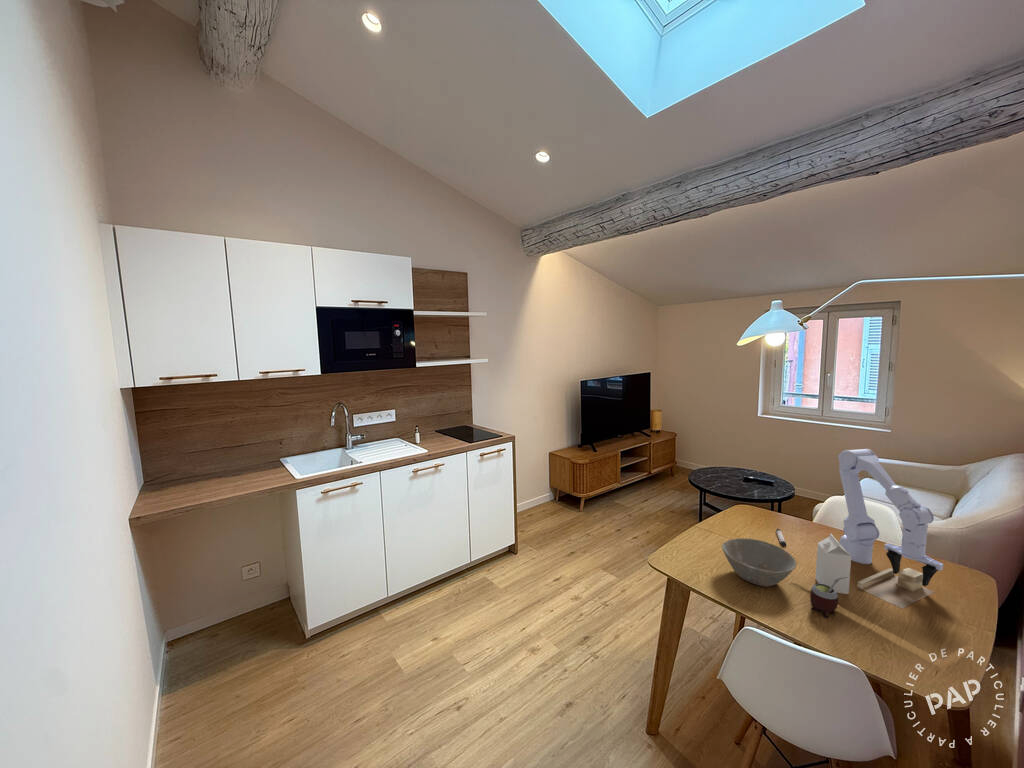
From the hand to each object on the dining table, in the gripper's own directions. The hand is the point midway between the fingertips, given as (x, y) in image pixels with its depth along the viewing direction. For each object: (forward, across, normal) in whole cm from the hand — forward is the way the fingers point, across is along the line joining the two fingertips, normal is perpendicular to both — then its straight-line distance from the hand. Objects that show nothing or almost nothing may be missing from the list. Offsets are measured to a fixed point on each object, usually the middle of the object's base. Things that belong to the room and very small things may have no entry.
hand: (910, 578), depth 136 cm
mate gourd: (+4, -5, -38) cm, 38 cm away
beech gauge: (+3, 0, 0) cm, 3 cm away
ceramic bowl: (+4, -26, -40) cm, 48 cm away
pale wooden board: (+4, -1, -6) cm, 8 cm away
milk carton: (+4, -11, -24) cm, 26 cm away
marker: (+5, -42, -4) cm, 42 cm away
